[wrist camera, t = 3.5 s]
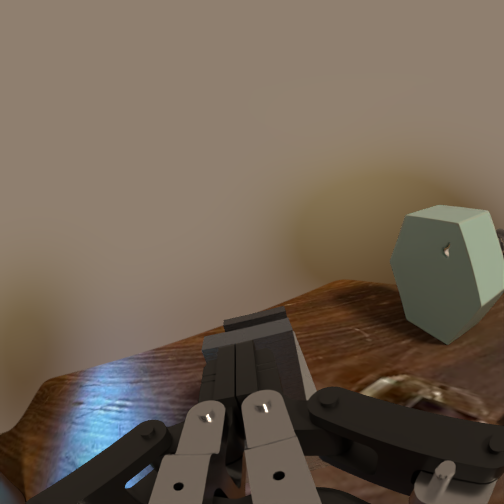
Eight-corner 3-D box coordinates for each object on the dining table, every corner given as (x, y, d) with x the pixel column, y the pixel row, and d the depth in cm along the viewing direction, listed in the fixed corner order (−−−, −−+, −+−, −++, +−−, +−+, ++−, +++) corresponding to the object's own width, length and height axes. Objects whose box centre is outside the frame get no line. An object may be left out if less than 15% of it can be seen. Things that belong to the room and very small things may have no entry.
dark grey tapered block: (311, 427, 20) (292, 329, 18) (240, 442, 20) (201, 350, 18) (290, 358, 31) (272, 277, 29) (238, 370, 31) (213, 291, 29)
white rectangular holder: (334, 463, 21) (327, 398, 19) (242, 483, 21) (209, 423, 19) (300, 365, 39) (288, 304, 36) (239, 380, 39) (219, 321, 36)
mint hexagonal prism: (462, 340, 37) (530, 255, 22) (431, 361, 36) (505, 276, 21) (412, 268, 48) (448, 174, 33) (380, 282, 47) (414, 181, 32)
